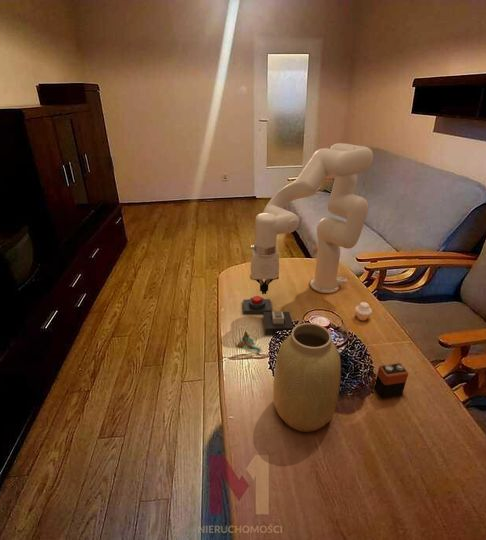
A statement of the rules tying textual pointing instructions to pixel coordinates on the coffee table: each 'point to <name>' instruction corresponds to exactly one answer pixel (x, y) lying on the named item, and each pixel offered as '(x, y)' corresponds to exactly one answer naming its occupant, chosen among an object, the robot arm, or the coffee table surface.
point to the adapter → (273, 328)
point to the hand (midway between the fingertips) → (263, 292)
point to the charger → (277, 317)
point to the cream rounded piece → (363, 311)
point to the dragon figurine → (247, 341)
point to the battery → (391, 380)
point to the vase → (307, 378)
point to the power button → (257, 299)
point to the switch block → (256, 306)
